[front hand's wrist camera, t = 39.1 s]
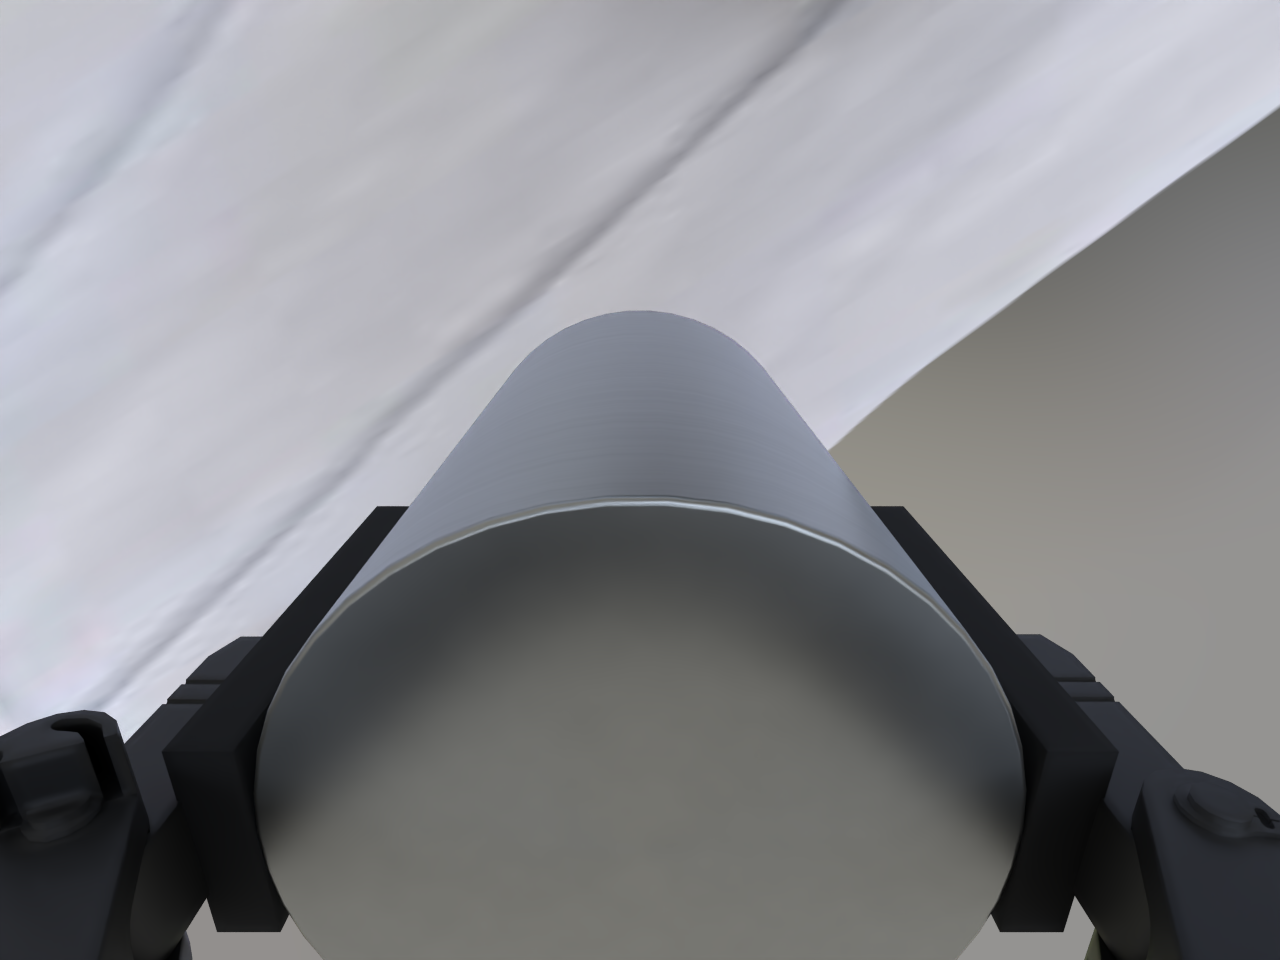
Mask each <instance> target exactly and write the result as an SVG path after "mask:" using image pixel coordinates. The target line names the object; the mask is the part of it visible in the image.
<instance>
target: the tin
mask: <svg viewBox="0 0 1280 960" xmlns="http://www.w3.org/2000/svg"><path fill="white" fill-rule="evenodd" d="M1025 802H1026V780H1025V770H1024V760H1023V750H1022V744H1021V740H1020V737H1019V733H1018V730H1017V726H1016V723H1015V719H1014V716H1013V712H1012V709H1011V706H1010V703H1009V701H1008V699H1007V697H1006V695H1005V693H1004V691H1003V689H1002V687H1001V685H1000V683H999V681H998V679H997V677H996V675H995V673H994V670H993V668H992V667H991V665H990V664H989V662H988V661H987V660H986V658H985V657H984V655H983V654H982V653H981V651H980V650H979V648H978V647H977V645H976V644H975V643H974V641H973V640H972V638H971V637H970V636H969V634H968V633H967V631H966V630H965V629H964V627H963V626H962V625H961V624H960V622H959V621H958V620H957V618H956V617H955V616H954V614H953V613H952V612H951V611H950V609H949V608H948V607H947V605H946V604H945V603H944V601H943V600H942V599H941V598H940V596H939V595H938V594H937V592H936V591H935V590H934V589H933V587H932V586H931V585H930V583H929V582H928V581H927V579H926V578H925V577H924V576H923V574H922V573H921V572H920V570H919V569H918V568H917V566H916V565H915V564H914V563H913V561H912V560H911V559H910V557H909V556H908V555H907V553H906V552H905V551H904V550H903V548H902V547H901V546H900V544H899V543H898V542H897V540H896V539H895V538H894V537H893V535H892V534H891V533H890V531H889V530H888V529H887V528H886V526H885V525H884V524H883V522H882V521H881V520H880V518H879V517H878V516H877V515H876V513H875V512H874V511H873V509H872V508H871V507H870V505H869V504H868V503H867V502H866V500H865V499H864V498H863V496H862V495H861V494H860V493H859V491H858V490H857V489H856V487H855V486H854V485H853V483H852V482H851V481H850V480H849V478H848V477H847V476H846V474H845V473H844V472H843V470H842V469H841V468H840V467H839V465H838V464H837V463H836V461H835V460H834V459H833V457H832V456H831V455H830V454H829V452H828V451H827V450H826V448H825V447H824V446H823V444H822V443H821V442H820V441H819V439H818V438H817V437H816V435H815V434H814V433H813V431H812V430H811V429H810V428H809V426H808V425H807V424H806V422H805V421H804V420H803V419H802V417H801V416H800V415H799V413H798V412H797V411H796V409H795V408H794V407H793V406H792V404H791V403H790V402H789V400H788V399H787V398H786V396H785V395H784V394H783V393H782V391H781V390H780V389H779V387H778V386H777V385H776V383H775V382H774V381H773V380H772V378H771V377H770V376H769V374H768V373H767V372H766V371H765V369H764V368H763V367H762V366H761V365H760V363H759V362H758V361H757V360H756V359H755V358H754V357H753V356H752V355H751V354H750V353H749V352H748V351H747V350H745V349H744V348H743V347H742V346H740V345H739V344H738V343H737V342H735V341H734V340H733V339H732V338H730V337H728V336H726V335H725V334H723V333H721V332H720V331H718V330H716V329H715V328H713V327H710V326H708V325H706V324H703V323H701V322H698V321H696V320H694V319H690V318H687V317H683V316H679V315H675V314H671V313H663V312H656V311H624V312H617V313H609V314H604V315H601V316H597V317H593V318H590V319H586V320H584V321H581V322H579V323H577V324H574V325H572V326H570V327H567V328H565V329H563V330H562V331H560V332H558V333H557V334H555V335H554V336H552V337H550V338H549V339H547V340H546V341H544V342H543V343H542V344H541V345H539V346H538V347H537V348H536V349H535V350H533V351H532V352H531V353H530V354H529V355H528V356H527V357H526V358H525V359H524V360H523V361H522V362H521V363H520V364H519V366H518V367H517V368H516V369H515V370H514V371H513V373H512V374H511V375H510V377H509V378H508V379H507V381H506V382H505V383H504V384H503V386H502V387H501V388H500V390H499V391H498V392H497V394H496V395H495V396H494V397H493V399H492V400H491V401H490V403H489V404H488V405H487V407H486V408H485V409H484V410H483V412H482V413H481V414H480V416H479V417H478V418H477V420H476V421H475V422H474V423H473V425H472V426H471V427H470V429H469V430H468V431H467V433H466V434H465V435H464V436H463V438H462V439H461V440H460V442H459V443H458V444H457V445H456V447H455V448H454V449H453V451H452V452H451V453H450V455H449V456H448V457H447V458H446V460H445V461H444V462H443V464H442V465H441V466H440V468H439V469H438V470H437V471H436V473H435V474H434V475H433V477H432V478H431V479H430V481H429V482H428V483H427V484H426V486H425V487H424V488H423V490H422V491H421V492H420V494H419V495H418V496H417V497H416V499H415V500H414V501H413V503H412V504H411V505H410V506H409V508H408V509H407V510H406V512H405V513H404V514H403V516H402V517H401V518H400V519H399V521H398V522H397V523H396V525H395V526H394V527H393V529H392V530H391V531H390V532H389V534H388V535H387V536H386V538H385V539H384V540H383V542H382V543H381V544H380V545H379V547H378V548H377V549H376V551H375V552H374V553H373V555H372V556H371V557H370V558H369V560H368V561H367V562H366V564H365V565H364V566H363V567H362V569H361V570H360V571H359V573H358V574H357V575H356V577H355V578H354V579H353V580H352V582H351V583H350V584H349V586H348V587H347V588H346V590H345V591H344V592H343V593H342V595H341V596H340V597H339V599H338V600H337V601H336V603H335V604H334V605H333V606H332V608H331V609H330V610H329V612H328V613H327V614H326V616H325V617H324V618H323V619H322V621H321V622H320V623H319V625H318V626H317V627H316V629H315V630H314V631H313V632H312V634H311V635H310V637H309V638H308V640H307V641H306V642H305V644H304V645H303V647H302V648H301V650H300V651H299V653H298V654H297V656H296V657H295V658H294V660H293V661H292V663H291V664H290V666H289V667H288V669H287V670H286V672H285V674H284V676H283V678H282V680H281V683H280V685H279V687H278V689H277V691H276V693H275V696H274V698H273V700H272V702H271V704H270V706H269V708H268V711H267V715H266V719H265V722H264V726H263V730H262V734H261V737H260V741H259V745H258V749H257V757H256V770H255V782H254V804H255V815H256V825H257V834H258V837H259V841H260V845H261V848H262V852H263V856H264V860H265V863H266V867H267V870H268V872H269V874H270V877H271V879H272V881H273V883H274V886H275V888H276V890H277V892H278V894H279V897H280V899H281V901H282V903H283V905H284V907H285V908H286V910H287V911H288V913H289V914H290V916H291V917H292V919H293V921H294V922H295V924H296V925H297V927H298V928H299V930H300V932H301V933H302V935H303V936H304V937H305V939H306V940H307V941H308V942H309V943H310V944H311V946H312V947H313V948H314V949H315V950H316V951H317V953H318V954H319V955H320V956H321V957H322V959H323V960H957V959H958V957H959V956H960V955H961V954H962V952H963V951H964V950H965V949H966V948H967V947H968V945H969V944H970V943H971V942H972V940H973V939H974V938H975V937H976V936H977V934H978V933H979V932H980V930H981V929H982V927H983V925H984V924H985V922H986V921H987V919H988V917H989V916H990V914H991V913H992V911H993V909H994V908H995V906H996V904H997V903H998V901H999V899H1000V897H1001V895H1002V892H1003V890H1004V888H1005V885H1006V883H1007V881H1008V878H1009V876H1010V874H1011V872H1012V869H1013V867H1014V864H1015V860H1016V856H1017V852H1018V848H1019V844H1020V840H1021V836H1022V832H1023V828H1024V815H1025Z"/></svg>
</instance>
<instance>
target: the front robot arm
mask: <svg viewBox="0 0 1280 960" xmlns="http://www.w3.org/2000/svg"><path fill="white" fill-rule="evenodd" d="M870 507H871V508H872V509H873V511H874V512H875V513H876V515H877V516H878V517H879V518H880V520H881V521H882V522H883V524H884V525H885V526H886V528H887V529H888V530H889V531H890V533H891V534H892V535H893V537H894V538H895V539H896V540H897V542H898V543H899V544H900V546H901V547H902V548H903V550H904V551H905V552H906V553H907V555H908V556H909V557H910V559H911V560H912V561H913V563H914V564H915V565H916V566H917V568H918V569H919V570H920V572H921V573H922V574H923V576H924V577H925V578H926V579H927V581H928V582H929V583H930V585H931V586H932V587H933V589H934V590H935V591H936V592H937V594H938V595H939V596H940V598H941V599H942V600H943V601H944V603H945V604H946V605H947V607H948V608H949V609H950V611H951V612H952V613H953V614H954V616H955V617H956V618H957V620H958V621H959V622H960V624H961V625H962V626H963V627H964V629H965V630H966V631H967V633H968V634H969V636H970V637H971V638H972V640H973V641H974V643H975V644H976V645H977V647H978V648H979V650H980V651H981V653H982V654H983V655H984V657H985V658H986V660H987V661H988V662H989V664H990V665H991V667H992V668H993V670H994V673H995V675H996V677H997V679H998V681H999V683H1000V685H1001V687H1002V689H1003V691H1004V693H1005V695H1006V697H1007V699H1008V701H1009V703H1010V706H1011V709H1012V712H1013V716H1014V719H1015V723H1016V726H1017V730H1018V733H1019V737H1020V740H1021V744H1022V750H1023V760H1024V770H1025V780H1026V802H1025V815H1024V828H1023V832H1022V836H1021V840H1020V844H1019V848H1018V852H1017V856H1016V860H1015V864H1014V867H1013V869H1012V872H1011V874H1010V876H1009V878H1008V881H1007V883H1006V885H1005V888H1004V890H1003V892H1002V895H1001V897H1000V899H999V901H998V903H997V904H996V906H995V908H994V909H993V911H992V913H991V915H992V917H993V919H994V921H995V923H996V925H997V927H998V929H999V931H1000V932H1063V931H1064V928H1065V925H1066V922H1067V918H1068V915H1069V912H1070V909H1071V906H1072V902H1073V899H1074V896H1075V897H1076V898H1077V900H1078V901H1079V903H1080V905H1081V906H1082V908H1083V909H1084V911H1085V912H1086V914H1087V915H1088V917H1089V919H1090V920H1091V922H1092V924H1093V925H1094V927H1095V929H1094V932H1093V935H1092V938H1091V941H1090V944H1089V947H1088V950H1087V953H1086V957H1085V959H1084V960H1280V815H1279V814H1278V813H1277V812H1275V811H1274V810H1273V809H1272V808H1270V807H1269V806H1268V805H1267V804H1266V803H1264V802H1263V801H1262V800H1261V799H1259V798H1258V797H1256V796H1255V795H1253V794H1251V793H1249V792H1247V791H1245V790H1244V789H1242V788H1240V787H1238V786H1236V785H1235V784H1233V783H1231V782H1229V781H1226V780H1223V779H1220V778H1218V777H1215V776H1212V775H1209V774H1206V773H1204V772H1200V771H1193V770H1187V769H1183V768H1182V767H1181V765H1180V764H1179V763H1178V762H1177V761H1176V760H1175V759H1174V758H1173V757H1172V756H1171V755H1170V754H1169V753H1168V752H1167V751H1166V750H1165V749H1164V748H1163V747H1162V746H1161V745H1160V744H1159V743H1158V742H1157V741H1156V740H1155V739H1154V738H1153V737H1152V736H1151V734H1150V733H1149V732H1148V731H1147V730H1146V729H1145V728H1144V727H1143V726H1142V725H1141V724H1140V723H1139V722H1138V721H1137V720H1136V719H1135V718H1134V717H1133V716H1132V715H1131V714H1130V713H1129V712H1128V711H1127V710H1126V709H1125V708H1124V707H1123V706H1122V705H1121V703H1120V702H1115V701H1114V696H1113V695H1112V694H1111V693H1110V692H1109V691H1108V690H1107V689H1106V688H1105V687H1104V686H1103V685H1102V684H1101V683H1100V682H1096V681H1095V677H1094V676H1093V675H1092V674H1091V672H1090V671H1089V670H1088V669H1087V668H1086V667H1085V666H1084V665H1083V664H1082V663H1081V662H1080V661H1079V660H1078V659H1077V658H1076V657H1075V656H1074V655H1073V654H1072V653H1070V652H1068V651H1067V650H1065V649H1063V648H1062V647H1060V646H1058V645H1057V644H1055V643H1054V642H1052V641H1050V640H1049V639H1047V638H1045V637H1044V636H1042V635H1040V634H1015V633H1014V632H1013V630H1012V629H1011V628H1010V627H1009V626H1008V625H1007V624H1006V622H1005V621H1004V620H1003V619H1002V618H1001V617H1000V616H999V614H998V613H997V612H996V611H995V610H994V609H993V608H992V607H991V605H990V604H989V603H988V602H987V601H986V600H985V599H984V597H983V596H982V595H981V594H980V593H979V592H978V591H977V589H976V588H975V587H974V586H973V585H972V584H971V583H970V582H969V580H968V579H967V578H966V577H965V576H964V575H963V574H962V572H961V571H960V570H959V569H958V568H957V567H956V566H955V564H954V563H953V562H952V561H951V560H950V559H949V558H948V557H947V555H946V554H945V553H944V552H943V551H942V550H941V549H940V547H939V546H938V545H937V544H936V543H935V542H934V541H933V539H932V538H931V537H930V536H929V535H928V534H927V533H926V532H925V530H924V529H923V528H922V527H921V526H920V525H919V524H918V522H917V521H916V520H915V519H914V518H913V517H912V516H911V514H910V513H909V512H908V511H907V510H906V509H905V508H904V507H903V506H870ZM408 508H409V506H377V507H376V508H375V509H374V510H373V512H372V513H371V514H370V515H369V516H368V517H367V518H366V520H365V521H364V522H363V523H362V524H361V525H360V526H359V528H358V529H357V530H356V531H355V532H354V533H353V534H352V535H351V537H350V538H349V539H348V540H347V541H346V542H345V543H344V545H343V546H342V547H341V548H340V549H339V550H338V551H337V553H336V554H335V555H334V556H333V557H332V558H331V559H330V560H329V562H328V563H327V564H326V565H325V566H324V567H323V568H322V570H321V571H320V572H319V573H318V574H317V575H316V576H315V578H314V579H313V580H312V581H311V582H310V583H309V584H308V585H307V587H306V588H305V589H304V590H303V591H302V592H301V593H300V595H299V596H298V597H297V598H296V599H295V600H294V601H293V603H292V604H291V605H290V606H289V607H288V608H287V609H286V611H285V612H284V613H283V614H282V615H281V616H280V617H279V618H278V620H277V621H276V622H275V623H274V624H273V625H272V626H271V628H270V629H269V630H268V631H267V632H266V633H265V634H264V636H263V637H239V638H238V639H236V640H235V641H233V642H231V643H230V644H228V645H226V646H225V647H223V648H221V649H220V650H218V651H217V652H215V653H213V654H212V655H210V656H208V657H207V658H206V659H205V661H204V662H203V663H202V664H201V665H200V666H199V667H198V668H197V669H196V670H195V671H194V672H193V673H192V674H191V675H190V676H189V677H188V678H187V679H186V684H181V685H180V687H179V688H178V689H177V690H176V691H175V692H174V693H173V694H172V695H171V696H170V697H169V698H168V699H167V704H162V705H161V706H160V707H159V708H158V709H157V710H156V711H155V713H154V714H153V715H152V716H151V717H150V718H149V719H148V720H147V721H146V722H145V723H144V724H143V725H142V726H141V727H140V728H139V729H138V730H137V731H136V732H135V733H134V734H133V735H132V736H131V737H130V739H129V740H128V741H127V742H126V743H125V744H124V742H123V739H122V736H121V733H120V730H119V727H118V724H117V721H116V720H115V719H114V718H112V717H111V716H109V715H108V714H106V713H105V712H97V711H88V710H81V711H74V712H67V713H60V714H55V715H52V716H49V717H46V718H43V719H39V720H36V721H33V722H30V723H27V724H25V725H23V726H21V727H19V728H17V729H15V730H12V731H10V732H8V733H6V734H4V735H2V736H0V960H192V953H191V947H190V941H189V938H188V935H187V932H186V930H187V928H188V927H189V925H190V923H191V922H192V920H193V918H194V917H195V915H196V914H197V912H198V911H199V909H200V908H201V906H202V904H203V903H204V901H205V900H206V898H207V901H208V904H209V907H210V910H211V914H212V917H213V920H214V923H215V926H216V930H217V932H281V930H282V928H283V926H284V924H285V922H286V920H287V918H288V915H289V913H288V911H287V910H286V908H285V907H284V905H283V903H282V901H281V899H280V897H279V894H278V892H277V890H276V888H275V886H274V883H273V881H272V879H271V877H270V874H269V872H268V870H267V867H266V863H265V860H264V856H263V852H262V848H261V845H260V841H259V837H258V834H257V825H256V815H255V804H254V782H255V770H256V757H257V749H258V745H259V741H260V737H261V734H262V730H263V726H264V722H265V719H266V715H267V711H268V708H269V706H270V704H271V702H272V700H273V698H274V696H275V693H276V691H277V689H278V687H279V685H280V683H281V680H282V678H283V676H284V674H285V672H286V670H287V669H288V667H289V666H290V664H291V663H292V661H293V660H294V658H295V657H296V656H297V654H298V653H299V651H300V650H301V648H302V647H303V645H304V644H305V642H306V641H307V640H308V638H309V637H310V635H311V634H312V632H313V631H314V630H315V629H316V627H317V626H318V625H319V623H320V622H321V621H322V619H323V618H324V617H325V616H326V614H327V613H328V612H329V610H330V609H331V608H332V606H333V605H334V604H335V603H336V601H337V600H338V599H339V597H340V596H341V595H342V593H343V592H344V591H345V590H346V588H347V587H348V586H349V584H350V583H351V582H352V580H353V579H354V578H355V577H356V575H357V574H358V573H359V571H360V570H361V569H362V567H363V566H364V565H365V564H366V562H367V561H368V560H369V558H370V557H371V556H372V555H373V553H374V552H375V551H376V549H377V548H378V547H379V545H380V544H381V543H382V542H383V540H384V539H385V538H386V536H387V535H388V534H389V532H390V531H391V530H392V529H393V527H394V526H395V525H396V523H397V522H398V521H399V519H400V518H401V517H402V516H403V514H404V513H405V512H406V510H407V509H408Z"/></svg>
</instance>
